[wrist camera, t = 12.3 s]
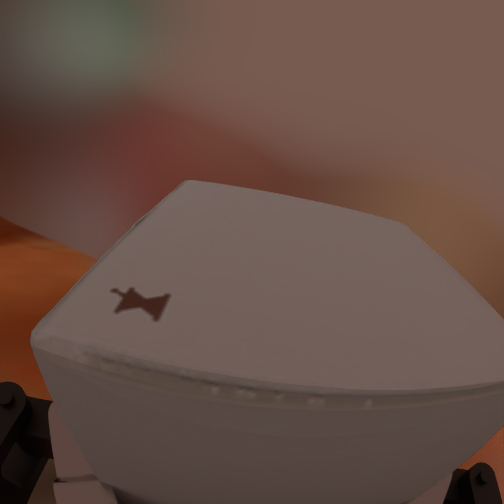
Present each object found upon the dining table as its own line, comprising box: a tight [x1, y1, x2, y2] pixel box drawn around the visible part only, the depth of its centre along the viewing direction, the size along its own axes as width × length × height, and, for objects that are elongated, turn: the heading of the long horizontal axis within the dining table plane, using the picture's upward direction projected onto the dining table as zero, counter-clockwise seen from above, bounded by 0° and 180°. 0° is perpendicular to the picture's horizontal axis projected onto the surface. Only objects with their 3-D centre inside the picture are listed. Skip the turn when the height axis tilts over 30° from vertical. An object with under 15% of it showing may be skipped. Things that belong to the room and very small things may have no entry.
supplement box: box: [30, 180, 504, 504], centre depth 8 cm, size 7×7×13 cm
